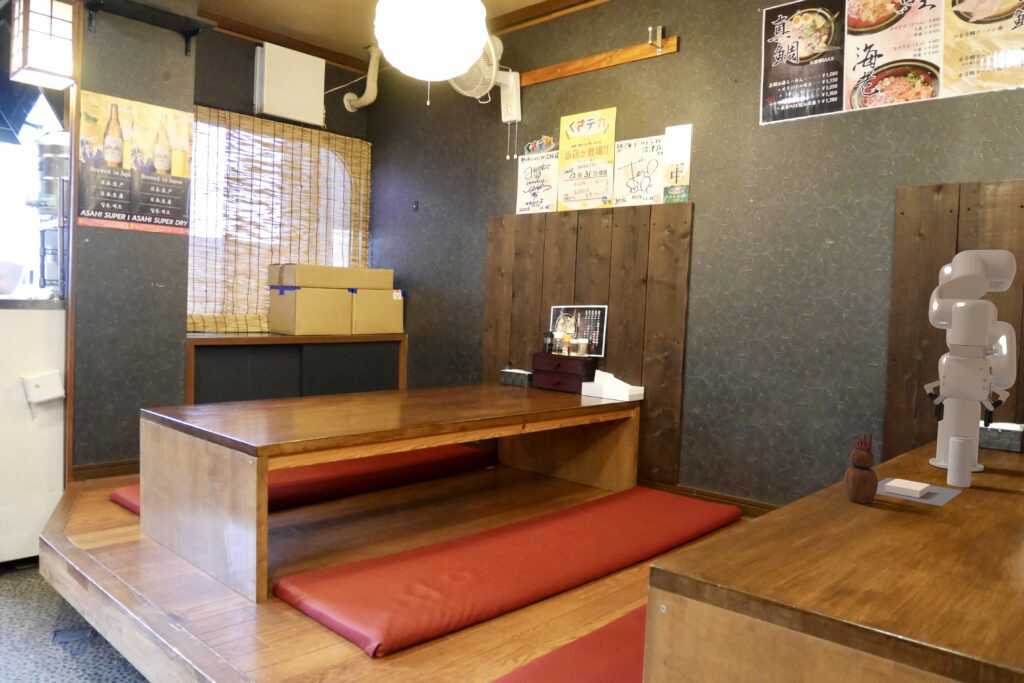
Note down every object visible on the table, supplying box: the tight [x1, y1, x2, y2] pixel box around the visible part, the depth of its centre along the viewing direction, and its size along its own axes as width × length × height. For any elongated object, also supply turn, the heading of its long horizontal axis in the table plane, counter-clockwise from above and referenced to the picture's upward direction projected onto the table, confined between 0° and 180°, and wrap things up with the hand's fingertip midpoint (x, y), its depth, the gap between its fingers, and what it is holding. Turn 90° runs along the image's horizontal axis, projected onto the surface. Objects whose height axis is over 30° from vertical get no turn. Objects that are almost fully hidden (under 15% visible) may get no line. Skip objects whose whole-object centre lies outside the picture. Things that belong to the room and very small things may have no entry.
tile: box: [885, 478, 931, 498], centre depth 160 cm, size 2×7×9 cm
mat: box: [876, 477, 963, 507], centre depth 162 cm, size 20×16×1 cm
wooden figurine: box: [843, 433, 879, 504], centre depth 152 cm, size 7×6×15 cm
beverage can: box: [946, 435, 973, 489], centre depth 169 cm, size 5×5×12 cm
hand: (962, 423), depth 170 cm, fingers open, 9 cm apart
